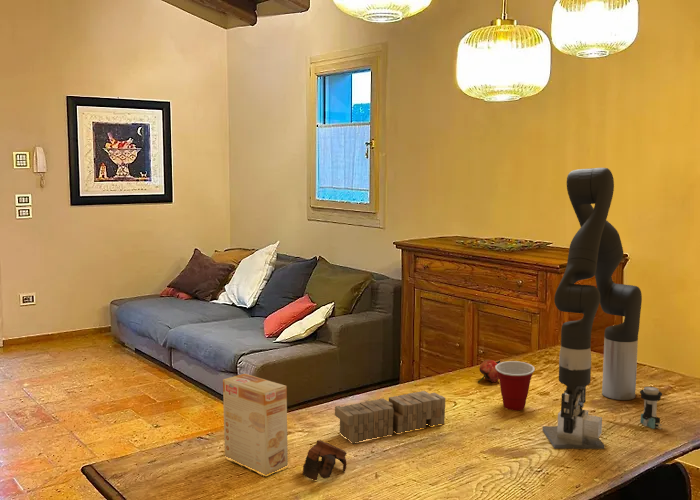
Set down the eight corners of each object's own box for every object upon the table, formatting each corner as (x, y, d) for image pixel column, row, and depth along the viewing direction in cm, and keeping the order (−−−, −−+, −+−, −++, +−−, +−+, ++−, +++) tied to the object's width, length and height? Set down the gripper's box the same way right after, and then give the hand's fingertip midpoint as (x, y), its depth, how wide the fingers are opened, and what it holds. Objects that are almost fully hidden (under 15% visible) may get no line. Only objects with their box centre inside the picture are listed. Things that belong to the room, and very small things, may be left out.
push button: (668, 429, 186) (670, 392, 185) (652, 432, 184) (654, 394, 183) (650, 420, 192) (651, 384, 191) (634, 423, 190) (635, 386, 189)
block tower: (428, 419, 197) (333, 435, 183) (429, 389, 196) (333, 403, 182) (445, 428, 190) (347, 446, 176) (446, 397, 189) (348, 413, 176)
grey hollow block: (557, 436, 179) (557, 413, 178) (563, 429, 184) (564, 406, 183) (597, 444, 174) (598, 420, 173) (602, 436, 179) (603, 412, 178)
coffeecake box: (289, 468, 164) (287, 385, 161) (265, 478, 159) (263, 392, 156) (247, 450, 174) (245, 372, 171) (223, 459, 169) (221, 378, 166)
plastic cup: (490, 411, 200) (491, 369, 199) (498, 399, 210) (499, 359, 209) (530, 416, 196) (531, 373, 195) (536, 403, 206) (537, 363, 205)
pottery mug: (295, 470, 164) (310, 435, 166) (332, 485, 166) (346, 451, 167) (305, 479, 152) (320, 441, 154) (345, 495, 154) (359, 458, 156)
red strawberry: (488, 393, 223) (512, 372, 224) (473, 375, 222) (498, 354, 223) (480, 388, 230) (504, 368, 231) (466, 370, 229) (490, 350, 230)
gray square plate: (542, 430, 186) (543, 396, 185) (589, 430, 186) (590, 396, 185) (554, 448, 174) (555, 412, 173) (604, 448, 174) (605, 412, 173)
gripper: (567, 355, 186) (565, 415, 188) (551, 369, 174) (549, 433, 176) (597, 359, 182) (594, 421, 184) (583, 373, 170) (580, 439, 172)
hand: (572, 427), depth 180 cm, fingers open, 8 cm apart
